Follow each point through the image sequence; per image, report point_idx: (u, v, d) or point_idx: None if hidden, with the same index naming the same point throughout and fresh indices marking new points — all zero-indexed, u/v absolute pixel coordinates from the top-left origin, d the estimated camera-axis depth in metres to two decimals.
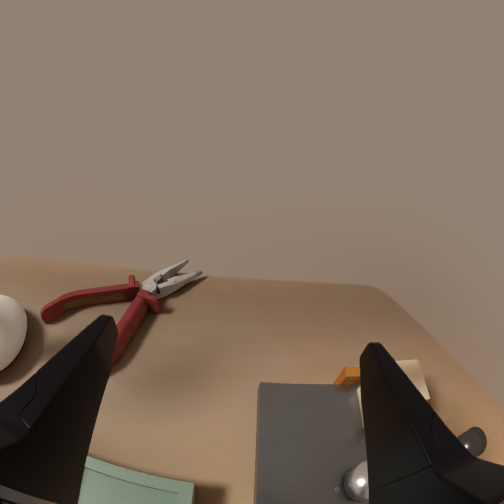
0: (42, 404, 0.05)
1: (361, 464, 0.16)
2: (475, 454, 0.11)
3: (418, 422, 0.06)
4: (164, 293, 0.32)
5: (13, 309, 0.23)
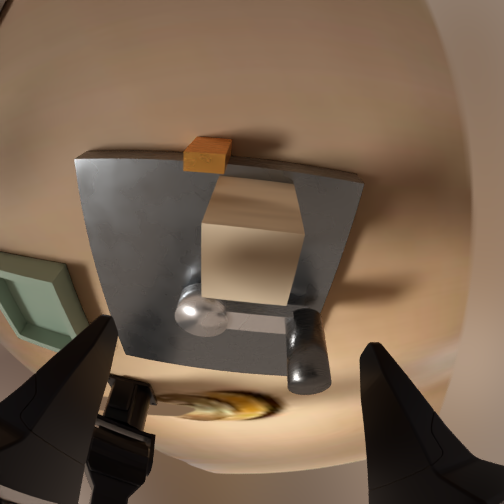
0: (42, 404, 0.05)
1: (185, 304, 0.18)
2: (298, 393, 0.16)
3: (418, 422, 0.06)
4: None
5: None
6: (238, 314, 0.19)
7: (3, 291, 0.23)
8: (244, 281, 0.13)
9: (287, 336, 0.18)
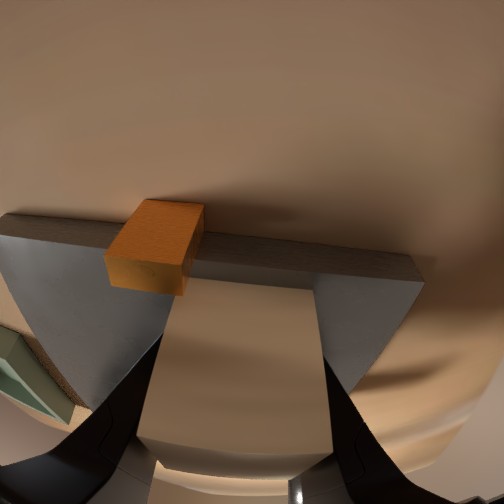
0: (122, 433, 0.05)
1: None
2: None
3: (339, 433, 0.06)
4: None
5: None
6: None
7: None
8: (226, 471, 0.06)
9: None
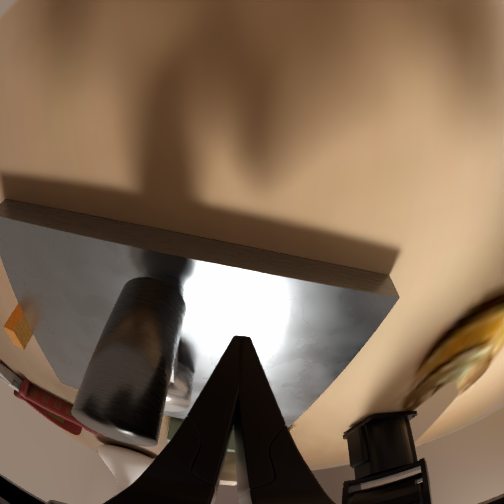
0: (212, 451, 0.05)
1: None
2: (151, 443, 0.07)
3: (254, 433, 0.06)
4: (11, 375, 0.24)
5: (105, 457, 0.33)
6: None
7: None
8: (225, 482, 0.24)
9: None
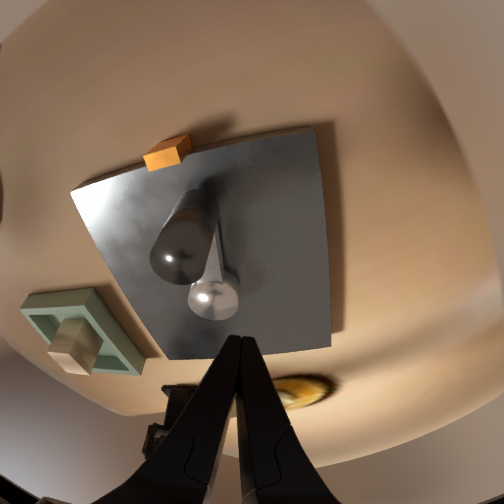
0: (204, 450, 0.05)
1: (196, 312, 0.21)
2: (201, 270, 0.13)
3: (260, 433, 0.06)
4: None
5: None
6: None
7: (49, 328, 0.28)
8: (70, 367, 0.25)
9: None
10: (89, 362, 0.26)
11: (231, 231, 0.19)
